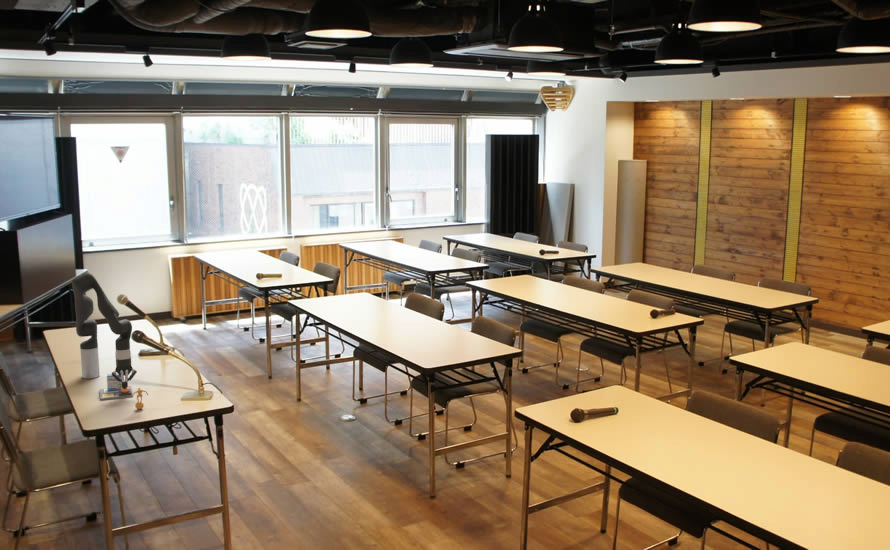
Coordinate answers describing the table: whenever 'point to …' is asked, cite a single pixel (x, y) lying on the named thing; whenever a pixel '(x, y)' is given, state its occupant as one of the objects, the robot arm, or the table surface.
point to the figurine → (139, 404)
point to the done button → (125, 390)
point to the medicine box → (113, 383)
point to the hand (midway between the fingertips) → (125, 388)
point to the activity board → (114, 394)
